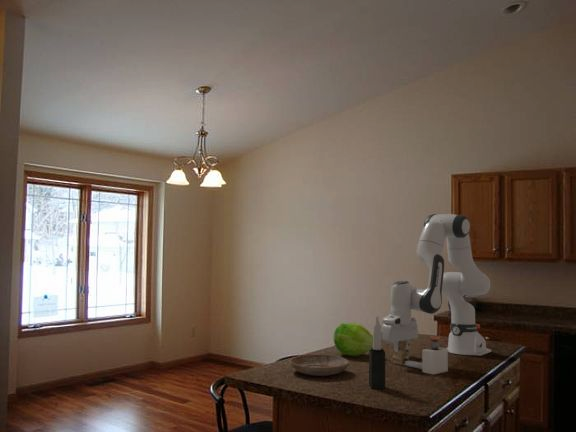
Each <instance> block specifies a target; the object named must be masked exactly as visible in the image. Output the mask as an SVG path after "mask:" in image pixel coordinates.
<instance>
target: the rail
mask: <svg viewBox="0 0 576 432" xmlns="http://www.w3.org/2000/svg"><path fill="white" fill-rule="evenodd" d="M395 364H397V363H395ZM397 365H398V364H397ZM402 366H406V367H409V368H414V369H415V368H416V369H419V370H422V362H417V361H413V360H410V359H409V360H405V359H403V365H402Z"/></svg>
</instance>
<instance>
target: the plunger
mask: <svg viewBox="0 0 576 432" xmlns="http://www.w3.org/2000/svg"><path fill="white" fill-rule="evenodd" d="M429 340H431V341H430V342H431V343H430V344H431V346H430V348H431V350H439V347H440V346H439V343H440V342H439V341H440V340H441V337H440V336H429Z"/></svg>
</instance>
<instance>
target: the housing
mask: <svg viewBox="0 0 576 432" xmlns="http://www.w3.org/2000/svg"><path fill="white" fill-rule="evenodd" d="M421 350H422V351H421V354H422V355H421V357H422V358H421V359H422V361H421V363H422V369H421V370H422V373H425V374H430V375H437V374H442V373H447V372H448V369H449V368H448V367H449V365H448V363H449V362H448V360H449V357H448V356H449V355H448V354H449V352H448V349H446V348H445V347H440V346H439V350H431V347H430V348H425V349H421Z"/></svg>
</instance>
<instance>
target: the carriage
mask: <svg viewBox="0 0 576 432" xmlns="http://www.w3.org/2000/svg"><path fill="white" fill-rule="evenodd" d="M398 347H400V349H399V350H400V351H398V352H396V351H394V354H393V355H392V363H393V364H396V363H397V365H401V366H404V365H403V359H405V360H409V361H410V359H409V358H410V356H409V355H408V356H407V342H404V341H398Z"/></svg>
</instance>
